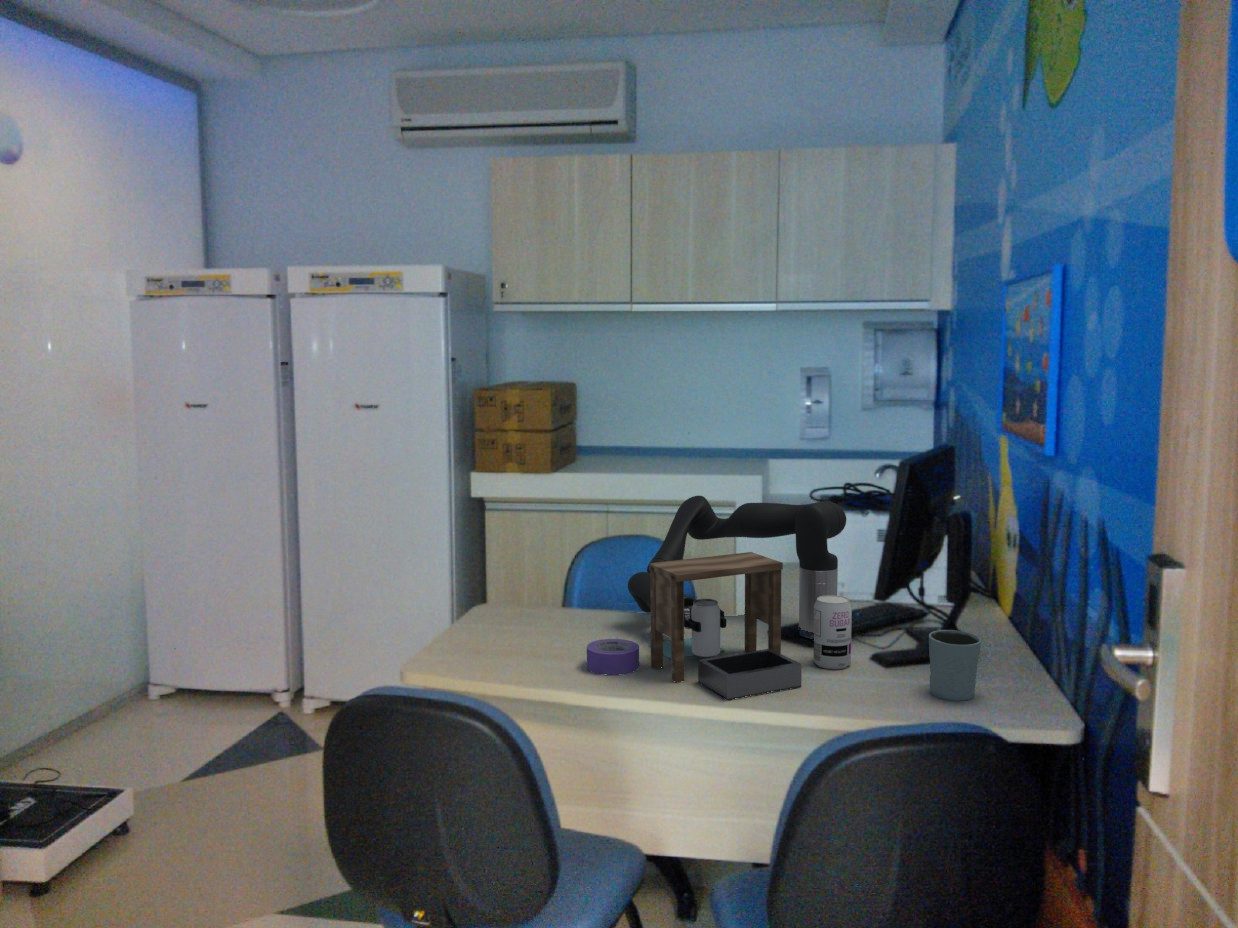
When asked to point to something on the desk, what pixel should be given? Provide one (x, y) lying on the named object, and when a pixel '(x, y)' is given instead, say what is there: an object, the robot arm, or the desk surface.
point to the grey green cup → (953, 664)
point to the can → (706, 628)
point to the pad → (687, 648)
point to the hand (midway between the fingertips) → (711, 625)
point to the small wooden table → (672, 574)
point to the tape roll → (612, 656)
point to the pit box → (749, 673)
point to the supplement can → (832, 632)
